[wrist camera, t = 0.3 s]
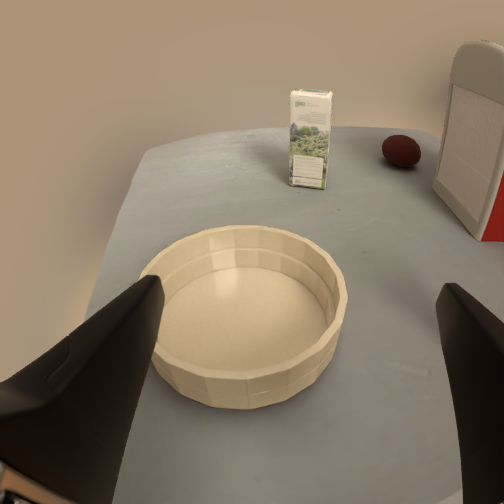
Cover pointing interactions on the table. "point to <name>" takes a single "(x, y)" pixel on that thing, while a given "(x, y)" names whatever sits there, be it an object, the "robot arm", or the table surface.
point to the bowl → (246, 315)
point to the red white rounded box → (474, 141)
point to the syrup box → (309, 137)
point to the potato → (401, 150)
